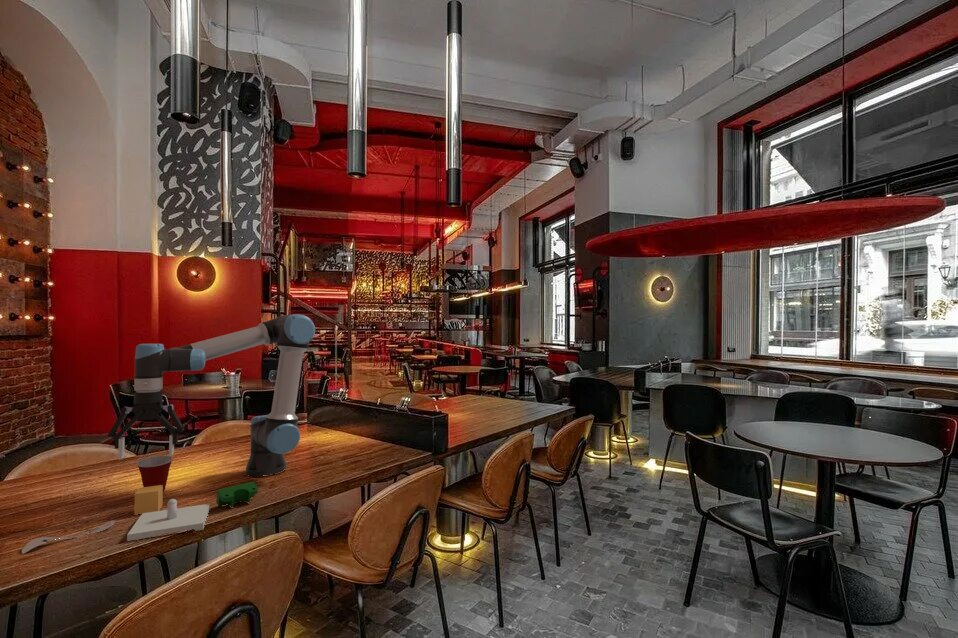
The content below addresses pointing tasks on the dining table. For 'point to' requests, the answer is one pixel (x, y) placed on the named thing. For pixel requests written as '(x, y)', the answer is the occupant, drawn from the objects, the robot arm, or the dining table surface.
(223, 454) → the dining table surface
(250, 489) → the clamp
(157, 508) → the tan wooden block
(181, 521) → the base plate
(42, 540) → the metal spoon
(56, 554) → the dining table surface
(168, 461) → the plastic cup
